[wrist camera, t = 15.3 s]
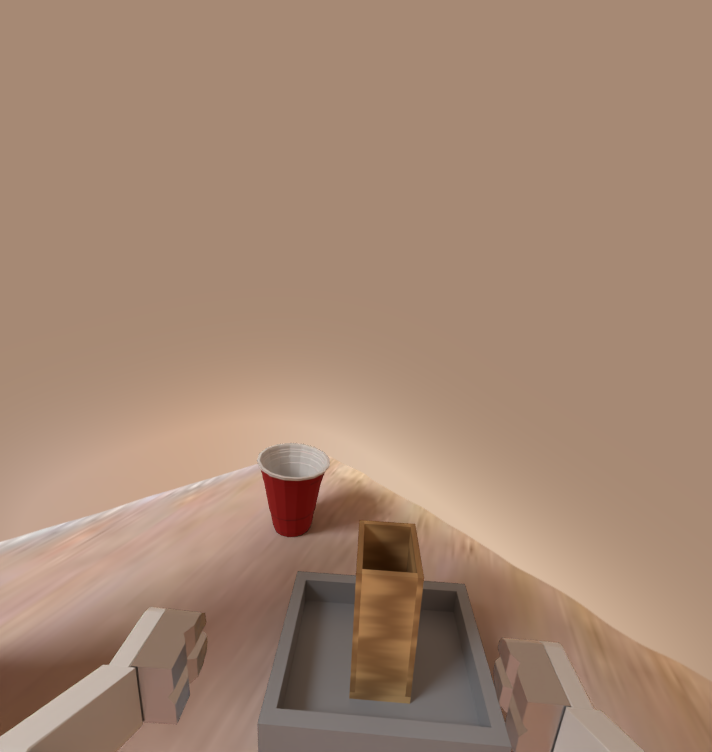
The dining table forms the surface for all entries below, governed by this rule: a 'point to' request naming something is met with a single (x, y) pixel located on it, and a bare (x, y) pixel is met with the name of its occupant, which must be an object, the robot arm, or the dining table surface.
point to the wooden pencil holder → (386, 611)
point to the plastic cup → (292, 484)
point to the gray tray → (378, 718)
